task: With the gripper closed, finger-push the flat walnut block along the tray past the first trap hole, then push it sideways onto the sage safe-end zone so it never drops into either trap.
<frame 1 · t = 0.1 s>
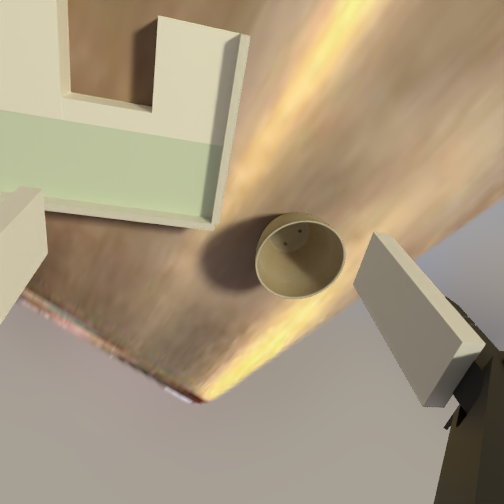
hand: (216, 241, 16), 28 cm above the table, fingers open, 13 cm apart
tray: (15, 93, 37), on the table
flower pot: (288, 231, 48), on the table
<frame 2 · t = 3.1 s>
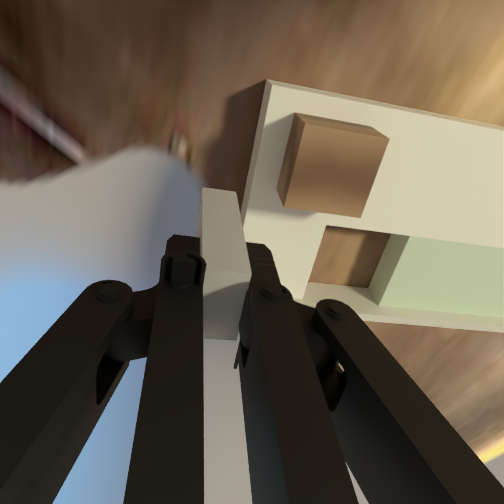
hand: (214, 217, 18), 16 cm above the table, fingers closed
block: (322, 158, 30), point 3 cm above the table, touching tray
tray: (446, 218, 37), on the table
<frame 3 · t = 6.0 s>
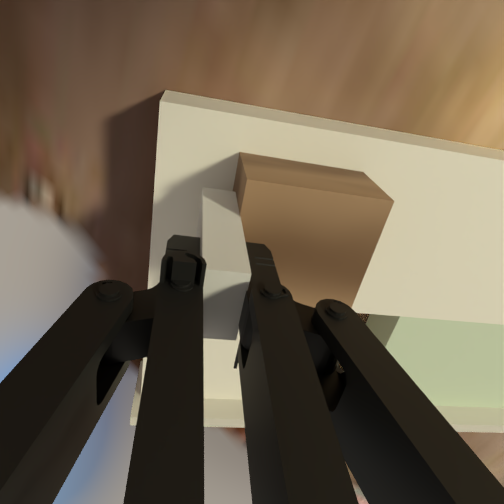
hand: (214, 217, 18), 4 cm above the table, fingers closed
block: (288, 220, 19), point 3 cm above the table, touching tray, gripper
tray: (452, 281, 26), on the table
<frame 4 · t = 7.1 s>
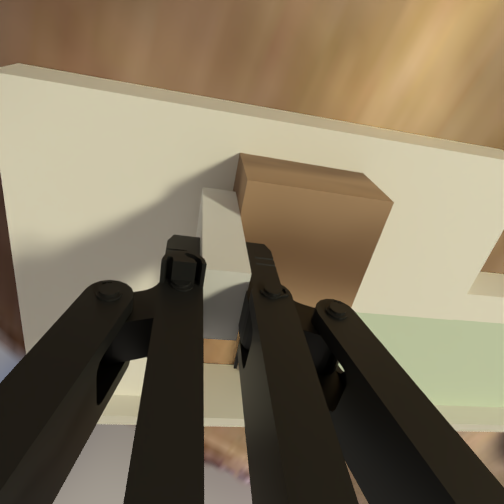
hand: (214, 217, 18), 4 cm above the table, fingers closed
block: (287, 220, 19), point 3 cm above the table, touching tray, gripper
tray: (366, 272, 25), on the table
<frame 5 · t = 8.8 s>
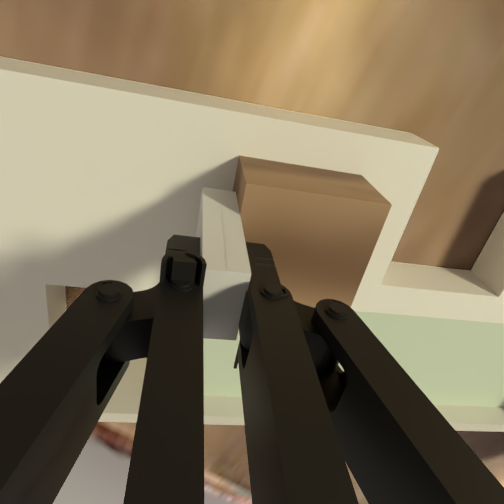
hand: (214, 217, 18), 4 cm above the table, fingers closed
block: (287, 222, 19), point 3 cm above the table, touching tray, gripper
tray: (283, 262, 24), on the table
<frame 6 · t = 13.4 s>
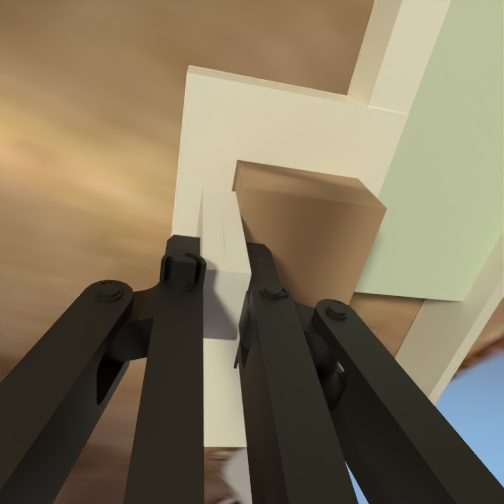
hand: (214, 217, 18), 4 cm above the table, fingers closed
block: (284, 225, 20), point 3 cm above the table, touching gripper
tray: (336, 189, 22), on the table
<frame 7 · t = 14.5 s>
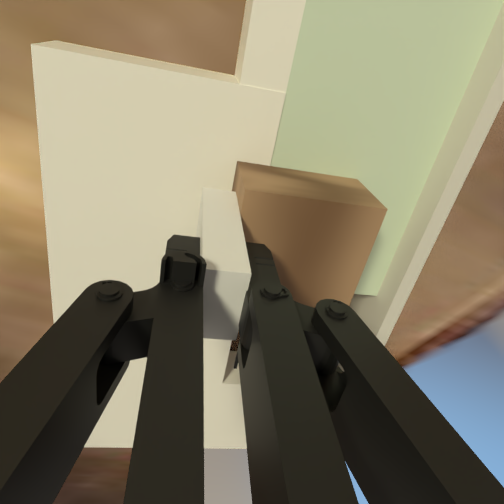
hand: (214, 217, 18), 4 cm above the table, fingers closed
block: (284, 226, 20), point 3 cm above the table, touching tray, gripper
tray: (237, 176, 21), on the table
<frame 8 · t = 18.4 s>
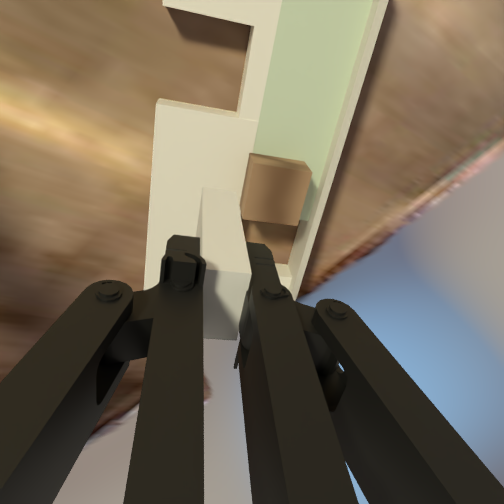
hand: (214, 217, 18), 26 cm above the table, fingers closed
block: (271, 183, 42), point 3 cm above the table, touching tray
tray: (237, 159, 43), on the table
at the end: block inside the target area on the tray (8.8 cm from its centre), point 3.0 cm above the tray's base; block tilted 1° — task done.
